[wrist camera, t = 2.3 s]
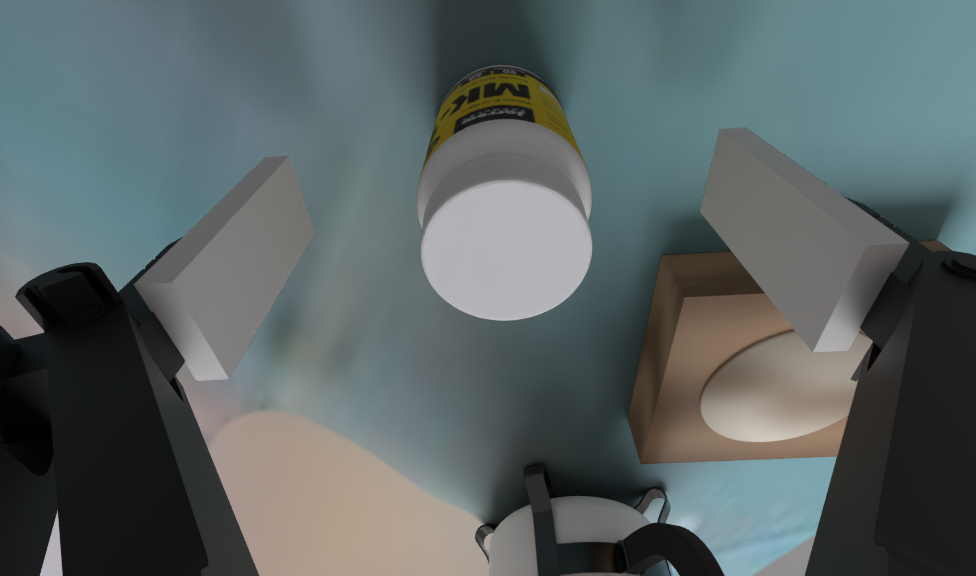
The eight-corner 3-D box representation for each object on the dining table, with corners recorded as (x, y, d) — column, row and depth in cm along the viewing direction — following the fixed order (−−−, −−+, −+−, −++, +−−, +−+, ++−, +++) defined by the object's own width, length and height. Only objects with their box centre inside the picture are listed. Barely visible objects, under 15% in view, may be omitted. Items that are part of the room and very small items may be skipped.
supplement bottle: (526, 32, 15) (558, 113, 8) (584, 151, 18) (644, 285, 11) (409, 110, 17) (359, 229, 10) (477, 209, 19) (474, 358, 12)
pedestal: (661, 255, 21) (686, 300, 18) (937, 240, 20) (1002, 284, 18) (627, 419, 28) (641, 467, 25) (829, 410, 28) (863, 458, 25)
